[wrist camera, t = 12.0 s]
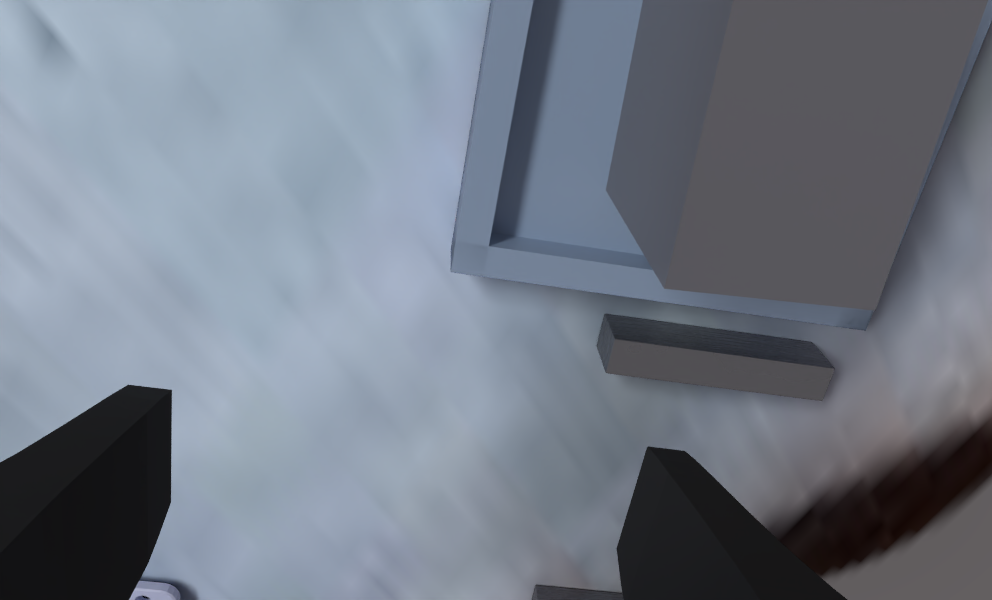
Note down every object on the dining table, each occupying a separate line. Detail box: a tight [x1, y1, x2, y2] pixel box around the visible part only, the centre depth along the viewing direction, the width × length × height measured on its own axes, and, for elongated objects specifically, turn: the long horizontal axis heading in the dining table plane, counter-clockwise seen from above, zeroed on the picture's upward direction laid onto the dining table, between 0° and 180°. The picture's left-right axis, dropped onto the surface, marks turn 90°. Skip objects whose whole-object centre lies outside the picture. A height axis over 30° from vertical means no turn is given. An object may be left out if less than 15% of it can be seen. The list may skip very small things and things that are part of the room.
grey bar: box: [606, 0, 988, 311], centre depth 16 cm, size 4×8×6 cm, turn 172°
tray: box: [451, 0, 992, 331], centre depth 18 cm, size 11×12×2 cm
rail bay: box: [532, 314, 835, 600], centre depth 24 cm, size 6×11×2 cm, turn 170°
